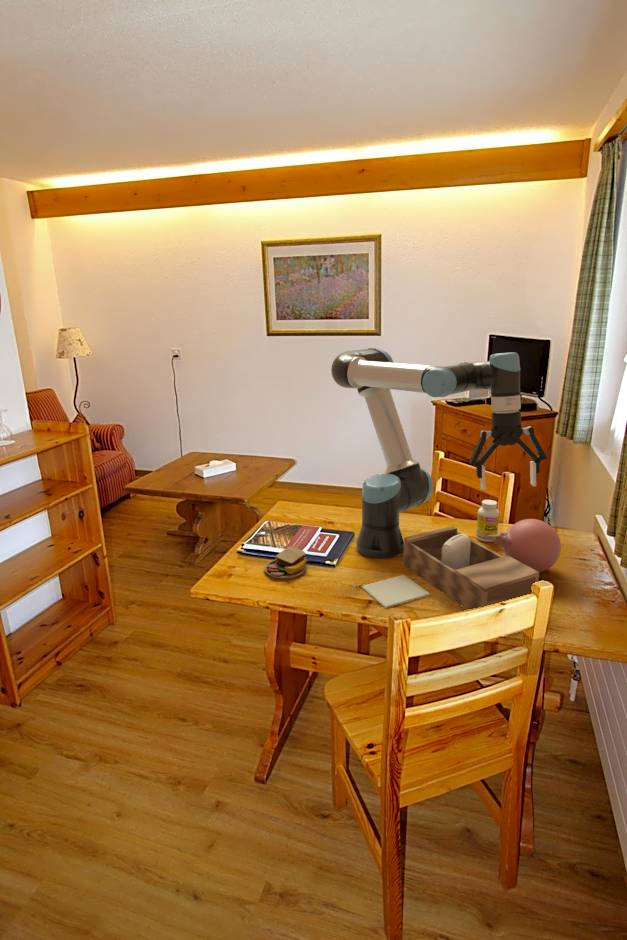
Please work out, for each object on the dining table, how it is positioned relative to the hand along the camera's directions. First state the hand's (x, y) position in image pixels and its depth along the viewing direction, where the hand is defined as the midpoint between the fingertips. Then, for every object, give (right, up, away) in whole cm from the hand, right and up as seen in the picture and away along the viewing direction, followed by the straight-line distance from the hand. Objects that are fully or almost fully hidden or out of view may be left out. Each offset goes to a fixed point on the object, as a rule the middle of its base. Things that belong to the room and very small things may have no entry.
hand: (508, 487), depth 156 cm
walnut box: (-12, -27, +2) cm, 29 cm away
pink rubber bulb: (+7, -24, +9) cm, 27 cm away
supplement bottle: (+3, -18, +30) cm, 35 cm away
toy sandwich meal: (-62, -25, +12) cm, 68 cm away
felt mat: (-32, -28, -2) cm, 43 cm away
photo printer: (-14, -26, +6) cm, 30 cm away
